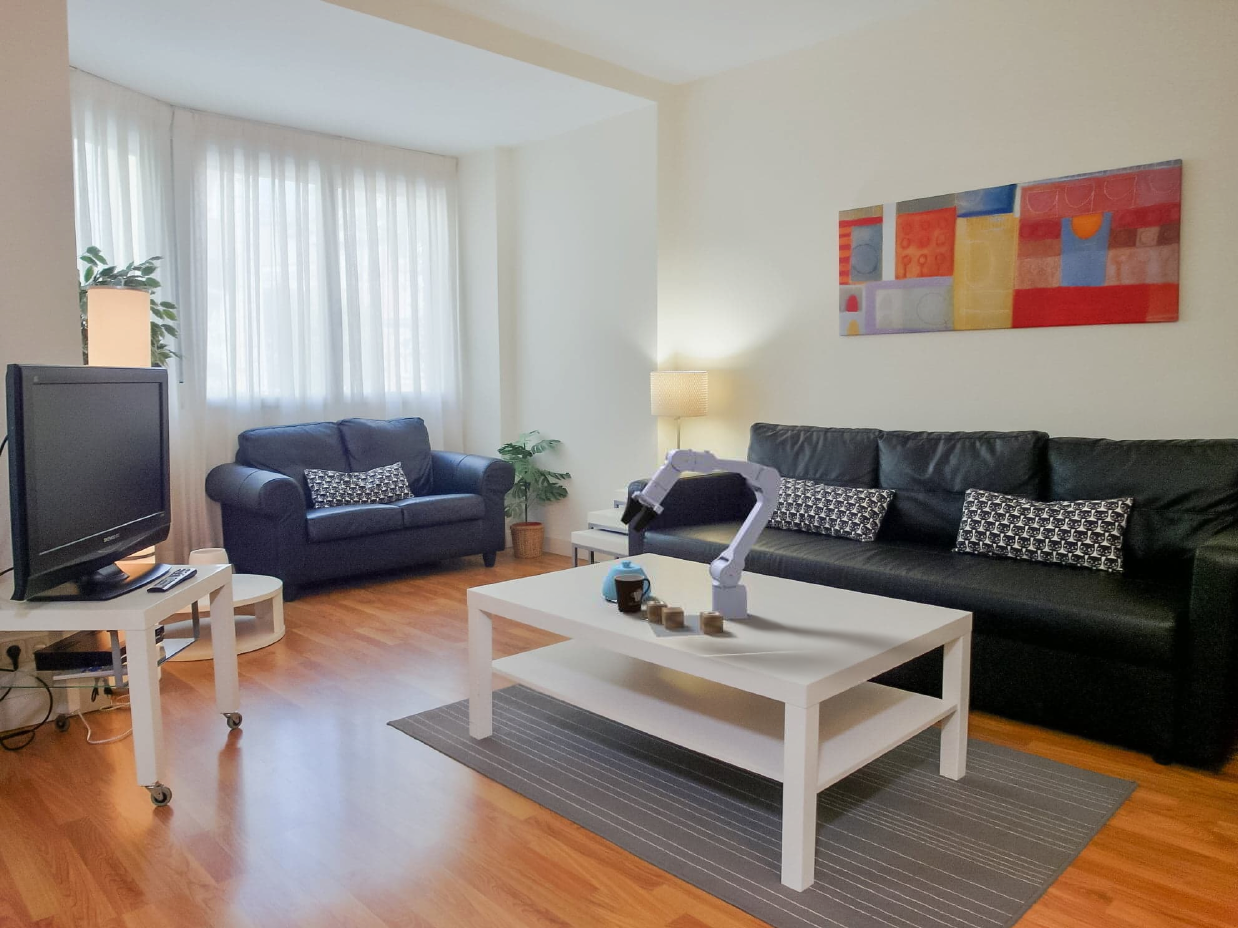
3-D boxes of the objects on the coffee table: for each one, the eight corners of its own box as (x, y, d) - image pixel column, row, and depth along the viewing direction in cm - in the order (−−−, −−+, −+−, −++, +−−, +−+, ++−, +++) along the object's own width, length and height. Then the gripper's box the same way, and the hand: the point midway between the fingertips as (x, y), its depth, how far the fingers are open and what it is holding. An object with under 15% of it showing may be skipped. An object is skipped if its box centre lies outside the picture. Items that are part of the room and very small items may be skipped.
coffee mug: (619, 616, 248) (618, 581, 248) (611, 609, 257) (610, 575, 256) (658, 613, 252) (658, 578, 251) (649, 606, 260) (649, 572, 259)
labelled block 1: (664, 616, 246) (664, 599, 246) (667, 621, 241) (667, 603, 241) (646, 617, 245) (646, 600, 245) (649, 622, 240) (649, 604, 240)
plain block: (680, 623, 239) (680, 606, 239) (683, 627, 234) (683, 611, 234) (661, 623, 238) (661, 607, 238) (665, 628, 233) (665, 612, 233)
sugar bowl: (652, 592, 278) (652, 556, 277) (649, 604, 263) (649, 565, 262) (605, 592, 279) (604, 556, 278) (599, 603, 264) (598, 565, 263)
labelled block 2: (718, 627, 234) (718, 610, 233) (723, 633, 229) (723, 614, 228) (700, 628, 233) (699, 610, 233) (704, 633, 228) (704, 615, 228)
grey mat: (708, 615, 248) (707, 614, 248) (725, 634, 228) (725, 633, 228) (644, 618, 246) (644, 617, 246) (656, 638, 226) (656, 636, 226)
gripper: (637, 472, 245) (608, 511, 243) (661, 484, 232) (630, 526, 231) (654, 486, 248) (625, 525, 247) (679, 499, 235) (648, 540, 234)
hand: (629, 526), depth 239 cm, fingers open, 7 cm apart
